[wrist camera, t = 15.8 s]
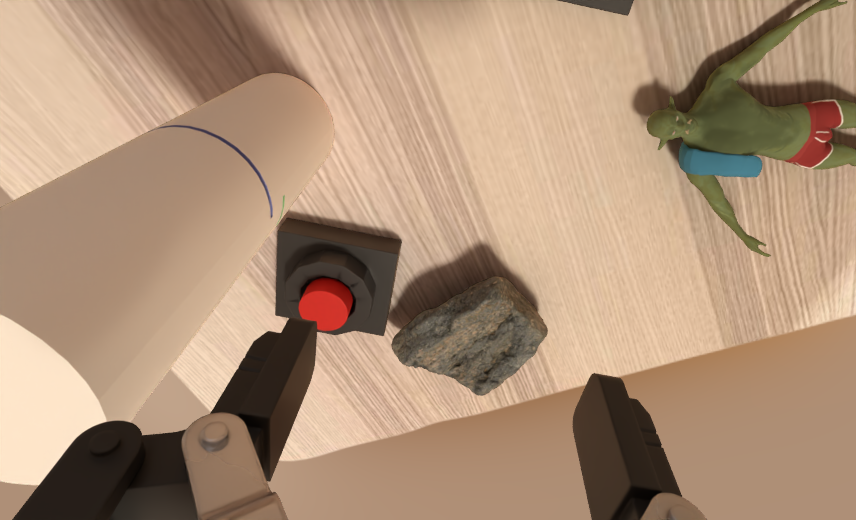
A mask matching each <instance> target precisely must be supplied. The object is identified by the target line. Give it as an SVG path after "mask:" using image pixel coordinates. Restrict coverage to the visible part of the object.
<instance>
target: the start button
mask: <svg viewBox="0 0 856 520" xmlns="http://www.w3.org/2000/svg"><path fill="white" fill-rule="evenodd" d="M352 303H353V298H352V294H351V292H350V290H349V289H348V288H347V287H346V286H345V285H344V284H343V283H341V282H340V281H338V280H335V279H332V278H319V279H316V280H314V281H312V282H311V283H310V284H309V285H308V286H307V288H306V290H305V292H304V294H303V296H302V298H301V300H300V302H299V312H300V315H301V317H302V319H306V320H312V321H316V322H317V329H318V330H323V331H331V330H336V329H338V328H340V327H341V326H343V325H344V324H345V322H346V321H347V318H348V315H349V313H350V310H351V307H352Z"/></svg>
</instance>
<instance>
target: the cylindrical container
mask: <svg viewBox="0 0 856 520" xmlns="http://www.w3.org/2000/svg"><path fill="white" fill-rule="evenodd" d="M333 141H334V124H333V120H332V116H331V114H330V111H329V109H328V107H327V105H326V103H325V102H324V100H323V99H322V97H321V96H320V95H319V94H318V93H317V92H316V91H315V90H314V89H313V88H312V87H311V86H309V85H308V84H307V83H305V82H304V81H302V80H300V79H298V78H296V77H294V76H291V75H287V74H283V73H268V74H262V75H260V76H257V77H254V78H252V79H250V80H248V81H246V82H245V83H243V84H241V85H239V86H237V87H235V88H233V89H231V90H229V91H227V92H225V93H223V94H221V95H219V96H217V97H215V98H213V99H211V100H209V101H208V102H206V103H204V104H202V105H200V106H198V107H196V108H194V109H192V110H190V111H188V112H186V113H184V114H182V115H180V116H178V117H176V118H174V119H172V120H170V121H168V122H166V123H164V124H162V125H160V126H158V127H156V128H154V129H152V130H150V131H148V132H147V133H145V134H143V135H141V136H139V137H137V138H135V139H133V140H131V141H129V142H127V143H125V144H123V145H121V146H119V147H117V148H115V149H113V150H111V151H109V152H107V153H105V154H104V155H102V156H100V157H98V158H96V159H94V160H92V161H90V162H88V163H86V164H84V165H82V166H80V167H78V168H76V169H74V170H72V171H70V172H68V173H66V174H65V175H63V176H61V177H59V178H57V179H55V180H53V181H51V182H49V183H47V184H45V185H43V186H41V187H39V188H37V189H35V190H33V191H31V192H29V193H27V194H25V195H23V196H22V197H20V198H18V199H16V200H14V201H12V202H10V203H8V204H6V205H4V206H2V207H0V481H2V482H8V483H14V484H26V485H40V483H41V482H42V481H43V479H44V478H45V477H46V476H47V474H48V473H49V472H50V470H51V469H52V468H53V467H54V465H55V464H56V463H57V461H58V460H59V459H60V458H61V456H62V455H63V454H64V452H65V451H66V450H67V449H68V447H69V446H70V445H71V443H72V442H73V441H74V440H75V439H76V438H77V437H78V436H79V435H80V434H81V433H83V432H84V431H86V430H87V429H89V428H91V427H93V426H95V425H98V424H100V423H104V422H108V421H117V420H119V421H127V422H131V421H132V419H133V418H134V417H135V415H136V414H137V413H138V411H139V410H140V408H141V407H142V406H143V405H144V403H145V402H146V400H147V399H148V398H149V396H150V395H151V394H152V392H153V391H154V390H155V388H156V387H157V386H158V384H159V383H160V382H161V380H162V379H163V378H164V376H165V375H166V374H167V372H168V371H169V370H170V368H171V367H172V366H173V364H174V363H175V361H176V360H177V359H178V357H179V356H180V355H181V353H182V352H183V351H184V349H185V348H186V347H187V345H188V344H189V343H190V341H191V340H192V339H193V337H194V336H195V335H196V333H197V332H198V331H199V329H200V328H201V327H202V325H203V324H204V323H205V321H206V320H207V318H208V317H209V316H210V314H211V313H212V312H213V310H214V309H215V308H216V306H217V305H218V304H219V302H220V301H221V300H222V298H223V297H224V296H225V294H226V293H227V292H228V290H229V289H230V288H231V286H232V285H233V284H234V282H235V281H236V280H237V278H238V277H239V275H240V274H241V273H242V271H243V270H244V269H245V267H246V266H247V265H248V263H249V262H250V261H251V259H252V258H253V257H254V255H255V254H256V253H257V251H258V250H259V249H260V247H261V246H262V245H263V243H264V242H265V241H266V239H267V238H268V237H269V235H270V234H271V233H272V231H273V230H274V229H275V227H276V226H277V224H278V223H279V222H280V220H281V219H282V218H283V216H284V215H285V214H286V212H287V211H288V210H289V208H290V207H291V206H292V204H293V203H294V202H295V200H296V199H297V198H298V196H299V195H300V194H301V192H302V191H303V190H304V188H305V187H306V186H307V184H308V183H309V182H310V180H311V179H312V178H313V176H314V175H315V174H316V172H317V171H318V170H319V168H320V167H321V165H322V164H323V163H324V161H325V160H326V158H327V157H328V155H329V154H330V151H331V149H332V146H333Z"/></svg>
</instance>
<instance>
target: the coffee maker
mask: <svg viewBox="0 0 856 520" xmlns="http://www.w3.org/2000/svg"><path fill="white" fill-rule="evenodd" d="M558 1H563V2H568V3H572V4H577V5H581V6H586V7H590V8H595V9H600V10H604V11H609V12H613V13H618V14H622V15H628V14H629V12H630V9H631V6H632V3H633V1H634V0H558Z"/></svg>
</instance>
